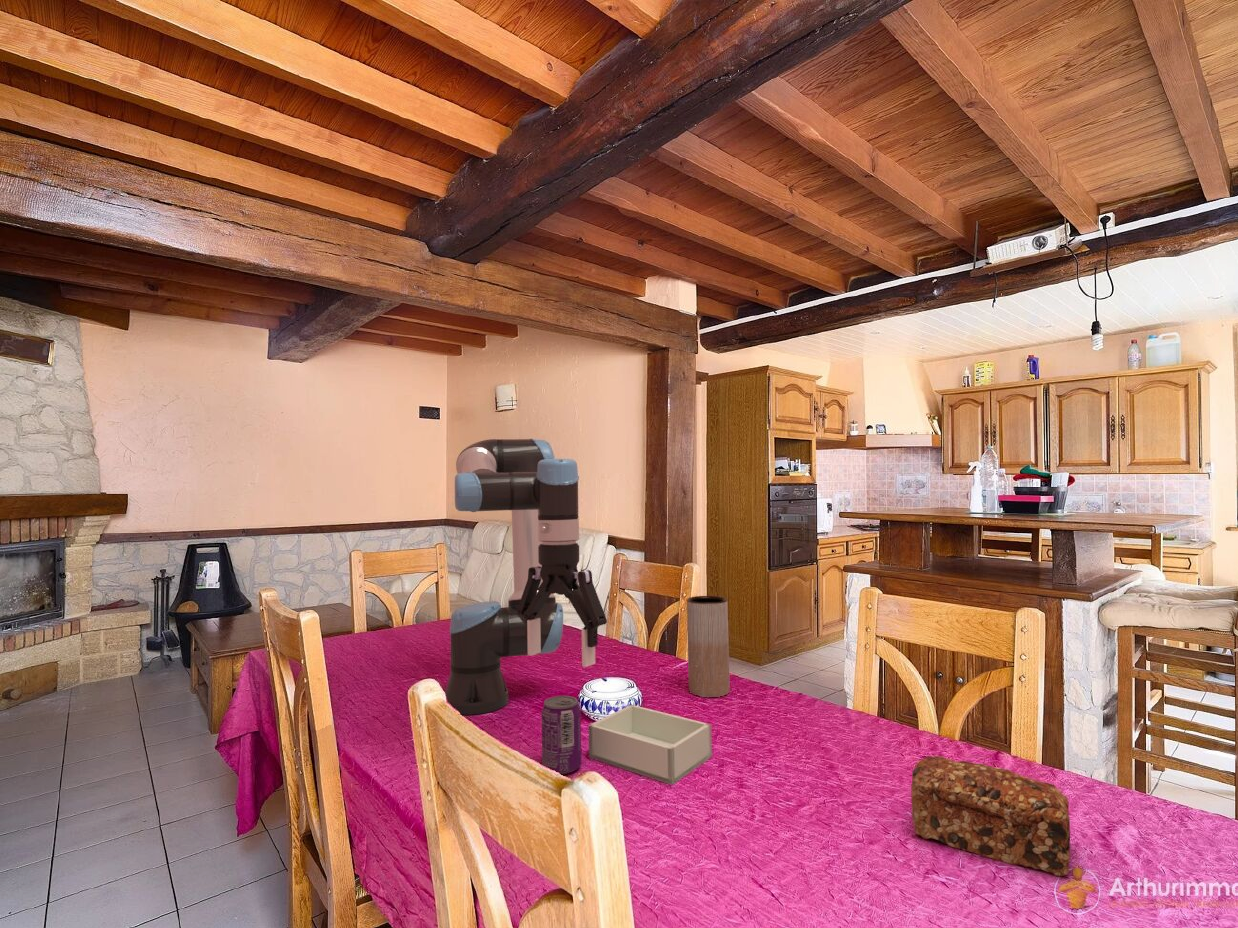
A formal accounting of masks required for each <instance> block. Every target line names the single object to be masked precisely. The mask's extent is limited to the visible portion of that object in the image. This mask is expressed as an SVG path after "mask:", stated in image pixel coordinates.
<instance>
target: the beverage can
mask: <svg viewBox="0 0 1238 928" xmlns="http://www.w3.org/2000/svg"><path fill="white" fill-rule="evenodd" d="M578 701H579V700H578V698H576V697H574V696H569V695H556V696H551V697H549V698H546V699H545V700H544V701H543V707H542V710H541V766H542V765H544V766H546V767H548V768H550V769H552V770H555V771H556V772H559V773H560V774H559V775H566V774H570V773H572V772H574V771H575V770H577V769H579V768H580V767H581V766H582V726H581V720H582V719H581V717H582V716H581V708H580V707H579V704H578Z"/></svg>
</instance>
